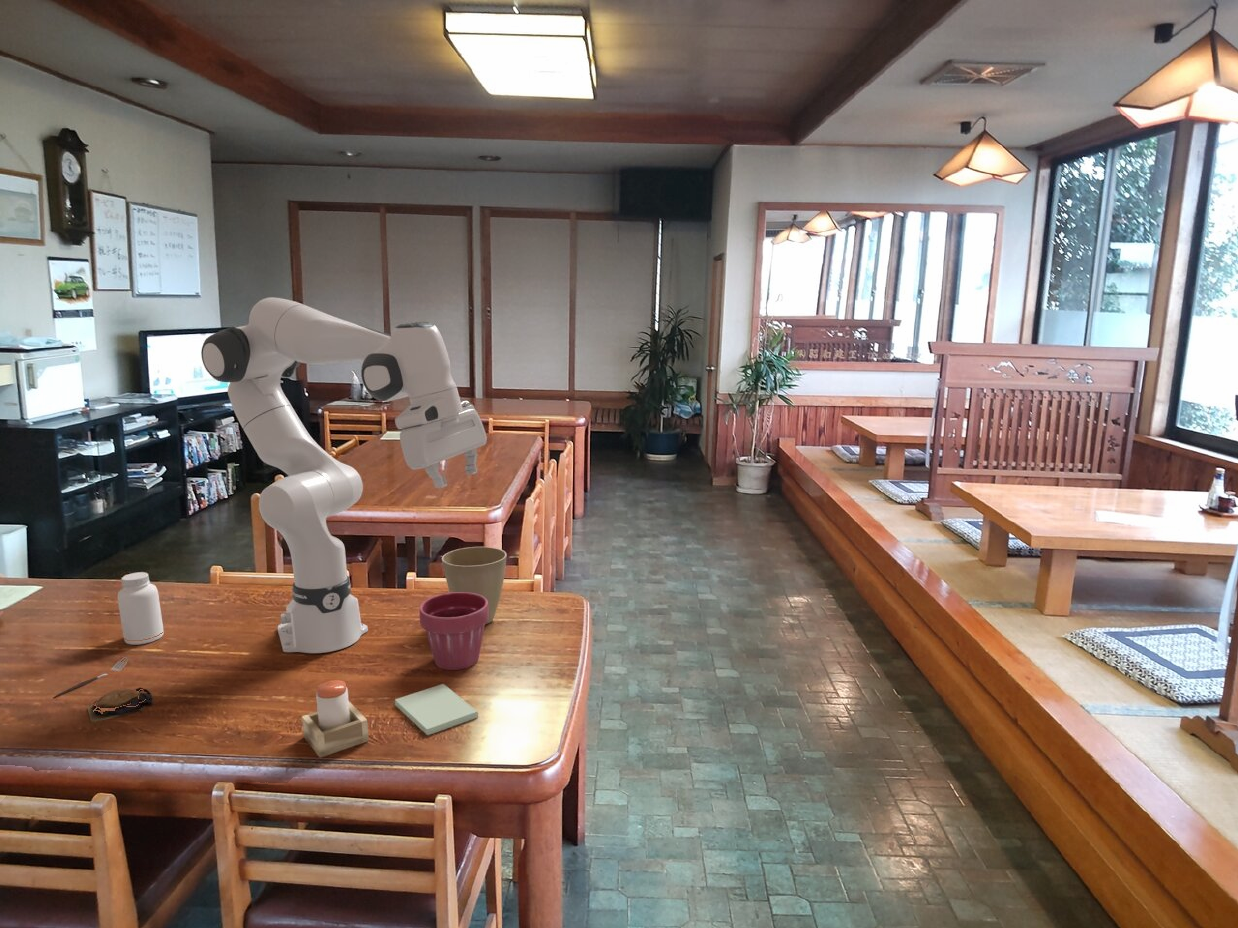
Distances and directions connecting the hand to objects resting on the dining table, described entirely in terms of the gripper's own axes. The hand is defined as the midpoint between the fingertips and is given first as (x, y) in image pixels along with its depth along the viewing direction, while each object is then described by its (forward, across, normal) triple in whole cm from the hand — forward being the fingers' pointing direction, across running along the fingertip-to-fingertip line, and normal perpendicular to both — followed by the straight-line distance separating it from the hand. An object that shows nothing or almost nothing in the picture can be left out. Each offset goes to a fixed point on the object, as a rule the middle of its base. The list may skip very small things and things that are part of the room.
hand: (457, 480), depth 156 cm
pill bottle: (+22, +13, -89) cm, 93 cm away
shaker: (+36, +27, -18) cm, 49 cm away
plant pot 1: (+38, -27, -28) cm, 54 cm away
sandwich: (+27, +36, -64) cm, 78 cm away
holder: (+37, +27, -19) cm, 50 cm away
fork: (+24, +31, -79) cm, 89 cm away
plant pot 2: (+39, -7, -19) cm, 44 cm away
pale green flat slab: (+40, +12, -9) cm, 43 cm away
